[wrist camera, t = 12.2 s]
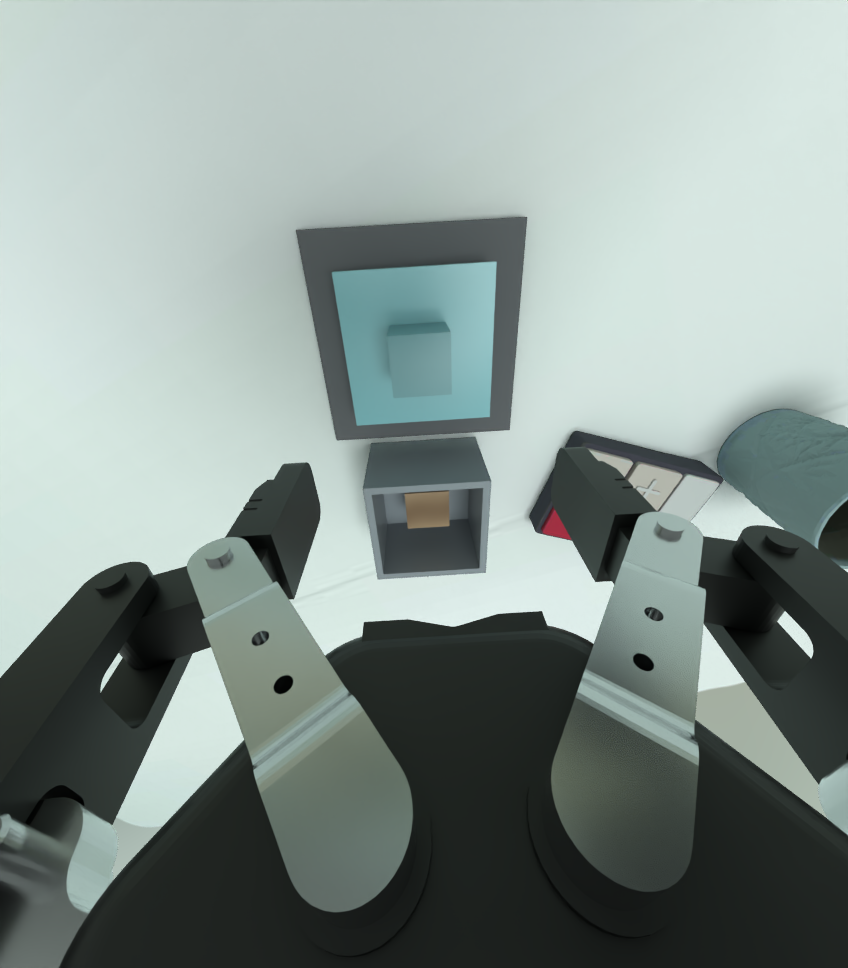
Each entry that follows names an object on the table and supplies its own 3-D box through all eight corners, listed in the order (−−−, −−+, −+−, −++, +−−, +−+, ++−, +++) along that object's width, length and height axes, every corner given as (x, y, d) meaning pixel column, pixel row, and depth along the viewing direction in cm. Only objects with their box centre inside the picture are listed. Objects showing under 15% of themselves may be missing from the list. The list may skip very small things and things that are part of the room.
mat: (299, 230, 26) (296, 230, 25) (523, 218, 26) (527, 217, 25) (338, 435, 35) (336, 440, 34) (507, 425, 35) (509, 429, 34)
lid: (338, 270, 27) (319, 275, 21) (488, 260, 27) (510, 263, 21) (360, 413, 33) (350, 447, 27) (483, 405, 33) (499, 437, 27)
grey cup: (741, 503, 41) (851, 585, 31) (686, 460, 38) (789, 537, 28) (835, 432, 37) (998, 501, 26) (782, 377, 33) (946, 432, 23)
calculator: (586, 444, 33) (732, 482, 34) (570, 425, 36) (702, 461, 38) (535, 537, 38) (663, 565, 40) (526, 512, 42) (643, 540, 44)
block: (404, 471, 36) (404, 494, 33) (445, 469, 36) (448, 491, 33) (407, 504, 39) (407, 528, 35) (445, 502, 39) (449, 526, 35)
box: (371, 443, 35) (362, 488, 29) (475, 437, 35) (491, 481, 29) (382, 524, 41) (377, 579, 34) (472, 519, 41) (485, 572, 34)
